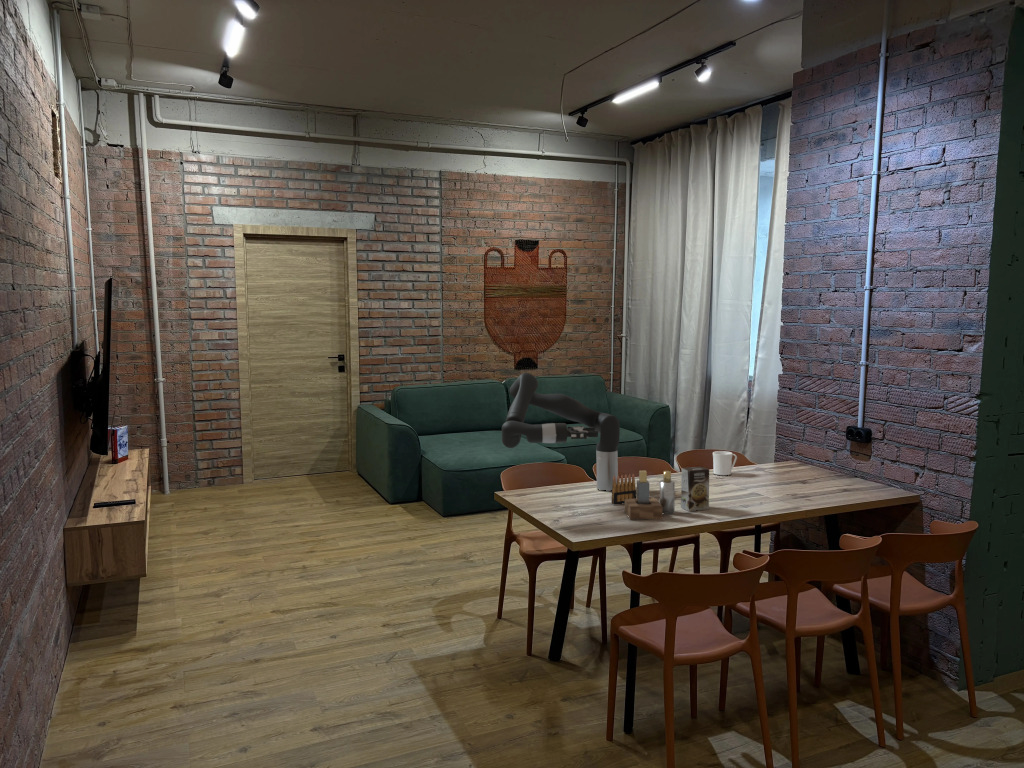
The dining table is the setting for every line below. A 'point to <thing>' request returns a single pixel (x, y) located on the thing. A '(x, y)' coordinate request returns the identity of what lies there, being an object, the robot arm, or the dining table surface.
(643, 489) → the square bit
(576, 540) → the dining table surface
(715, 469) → the mug
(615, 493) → the ammunition clip
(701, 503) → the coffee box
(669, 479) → the silver bottle
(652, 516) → the socket block
